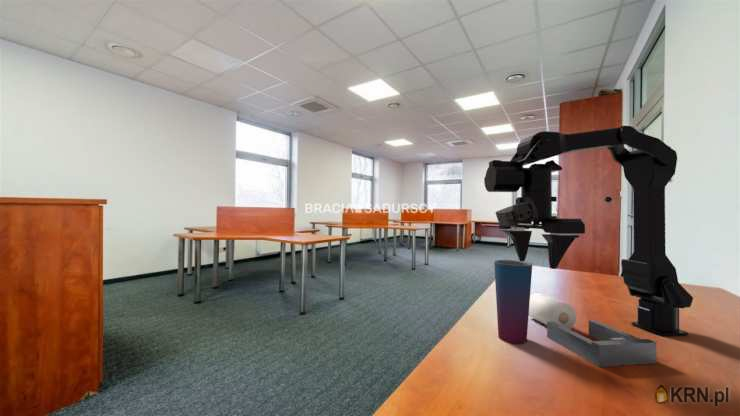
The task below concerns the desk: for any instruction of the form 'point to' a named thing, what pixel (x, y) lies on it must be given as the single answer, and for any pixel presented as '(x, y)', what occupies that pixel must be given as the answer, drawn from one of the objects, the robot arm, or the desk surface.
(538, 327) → the desk surface
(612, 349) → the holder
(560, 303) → the roll
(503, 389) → the desk surface
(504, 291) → the cup
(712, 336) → the desk surface
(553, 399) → the desk surface
